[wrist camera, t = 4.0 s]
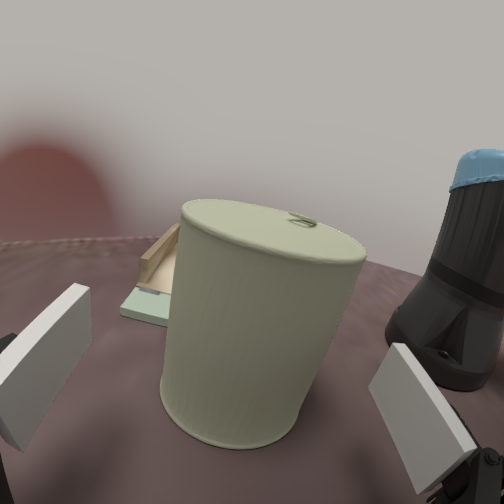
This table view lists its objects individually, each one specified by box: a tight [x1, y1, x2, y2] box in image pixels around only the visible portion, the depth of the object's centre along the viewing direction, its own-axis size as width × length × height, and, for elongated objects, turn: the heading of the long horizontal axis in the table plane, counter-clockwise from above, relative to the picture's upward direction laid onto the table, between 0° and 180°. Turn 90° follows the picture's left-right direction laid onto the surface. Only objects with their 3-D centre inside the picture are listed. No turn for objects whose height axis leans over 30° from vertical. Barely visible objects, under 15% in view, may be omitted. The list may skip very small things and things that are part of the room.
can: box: [160, 199, 367, 450], centre depth 16 cm, size 9×9×12 cm
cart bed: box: [136, 224, 180, 296], centre depth 34 cm, size 16×16×4 cm
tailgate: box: [120, 287, 171, 327], centre depth 25 cm, size 16×4×1 cm, turn 91°
